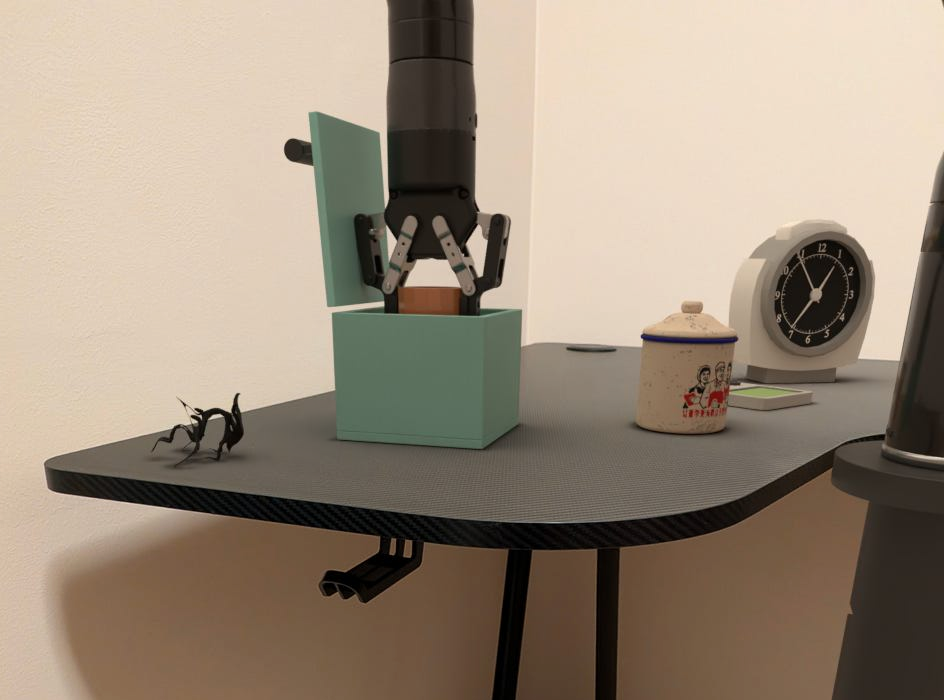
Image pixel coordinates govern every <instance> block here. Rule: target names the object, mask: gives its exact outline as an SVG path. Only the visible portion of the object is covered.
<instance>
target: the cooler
mask: <svg viewBox="0 0 944 700" xmlns="http://www.w3.org/2000/svg"><path fill="white" fill-rule="evenodd" d="M331 327H332V351H333V372H334V393H335V394H334V396H335V417H336V418H335V421H336V422H335V423H336V439H337V440H338V441H339V440H340V441H353V442H369V443H381V444H382V443H384V444H398V445H412V446H427V447H440V448H441V447H442V448H456V449H473V450H484V449H485V448H486V447H487V446H489V445H490V444H492V443H493V442H495V441H496V440H498V439H499V438H500V437H502V436H504V435H505V434H506V433H507V432H509V431H510V430H512V429H514V428H515V427H516V426H518V425H519V422H520V421H519V418H520V417H519V415H520V389H521V359H522V358H521V357H522V330H523V309H522V308H499V307H498V308H497V307H495V308H494V307H493V308H492V307H480V316H452V315H417V314H385V313H384V305H382V306H374V307H367V308H360V309H359V308H358V309H351V310H341V311H333V312H331Z"/></svg>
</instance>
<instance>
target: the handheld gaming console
mask: <svg viewBox="0 0 944 700" xmlns="http://www.w3.org/2000/svg"><path fill="white" fill-rule="evenodd" d="M813 394H814V392H813V390H812V391H811V390H806V389H805V390H804V389H796V388H788V387H781V386H771V385H764V384H757V383H756V384H755V383H748V382H747V383H746V382H740V381H738V380H737V379H731V381H730V389H729V398H728V406H729V407H731V406H732V407H736V408H744V409H750V410H758V411H770V410H771V411H772V410H777V409H783V408H789V407H790V408H791V407H796V406H802V405H809V404H812V400H813Z"/></svg>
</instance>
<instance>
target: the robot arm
mask: <svg viewBox="0 0 944 700" xmlns="http://www.w3.org/2000/svg"><path fill="white" fill-rule="evenodd" d="M385 1H386V2H385V3H386V7H387V36H388V37H387V44H388V46H387V47H388V48H387V50H388V68H387V69H388V70H387V71H388V73H387V74H388V75H387V84H386V94H385V95H386V97H385V98H386V100H385V102H386V103H385V107H386V109H385V111H386V113H385V114H386V154H387V155H386V156H387V157H386V159H387V160H386V161H387V162H386V163H387V190H388V200H387V204H386V205H385V211H384V212H382V213H377V214H371V215H369V214H357V215H356V216H355V218H354V224H355V231H356V237H357V244H358V250H359V257H360V263H361V270H362V276H363V281H364V283H365V284H366V285H367V286H372V287H374V288H376V289H379V290H380V291H381V292H382V293H383V295H384V301H383V306H384V313H385V314H398V287H404V286H406V283H407V281H408V279H409V276H410V274H411V272H412V271H413V270H414V268H415V266H416V263H417V261H419V260H421V261H422V260H423V261H424V260H431V259H433V260H437V261H448V264H449V266H450V268H451V271H452V272H453V273H454V274H455V277H456V279H457V281H458V283H459V287H461V289H462V291H463V297H460V316H480V308H481V301H482V300H481V299H482V296H483V294H484V293H486V292H489V291H490V290H493V289H498V288H500V287H501V285H502V284H503V279H504V272H505V266H506V259H507V253H508V252H507V251H508V246H509V240H510V239H509V238H510V233H511V232H510V231H511V226H512V219H511V217H510V216H509V215H508V214H504V213H500V212H499V213H494V214H493V213H487V212H481V209H480V208H479V206H478V203H477V200H476V177H477V176H476V172H477V171H476V165H477V163H476V161H477V128H478V112H477V91H476V90H477V89H476V83H475V82H476V81H475V67H474V66H475V6H474V5H475V3H474V0H385ZM940 1H941V5H942V7H943V9H944V0H940ZM932 183H933V184H932V188H931V194H930V199H929V204H930V205H929V206H928V209H927V214H926V219H925V225H924V231H923V236H922V241H921V248H920V253H919V257H918V263H917V267H916V273H915V278H914V283H913V288H912V294H911V300H910V305H909V309H908V310H909V311H908V314H907V315H908V316H907V320H906V326H905V330H904V336H903V341H902V347H901V352H900V357H899V363H898V366H897V367H898V368H897V373H896V379H895V383H894V389H893V393H892V394H893V395H892V398H891V405H890V410H889V415H888V416H889V417H888V420H887V424H886V427H885V437H884V441H883V440H882V441H883V444H882V450H881V456H883V457H884V458H886V459H888V460H890V461H893V462H896V463H899V464H903V465H908V466H912V467H918V468H923V469H930V470H937V471H944V150H943V151H942V154H941V156H940V158H939V160H938V164H937V166H936V169H935V174H934V177H933V182H932ZM385 226H386V227H387V229H388V230H389V231H390V233H391V235H392V236H393V237H394V239H395V240H396V243H395V246H394V249H393V251H392V253H391V256H390V258H389V268H388V271H387V273H386V275H385V274H384V267H383V260H382V253H381V246H380V239H381V238H382V237H383V235H384V228H385ZM478 226H480V228H481V236H482V237H483V239H485V240H486V241H487V243H486V244H487V245H486V250H485V257H484V263H483V271H482V275H480V276H479V274H478V271H477V269H476V265H475V260H474V258H473V256H472V253H471V251H470V248H469V245H468V241H469V240H470V239H471V237H472V236H473V234H474V233H475V231H476V229H477V228H478Z"/></svg>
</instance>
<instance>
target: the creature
mask: <svg viewBox="0 0 944 700" xmlns="http://www.w3.org/2000/svg"><path fill="white" fill-rule="evenodd" d="M240 395H242V394H241V393H240V392H236V394H235V395H234V397H233V401H232V405H231V409H230V411H227V410H225V409H223V408H220V407H212V408H209V409H206V410H203V409H202V408H199V407H194V408H191V407H192V406H189V405H188V404H187V403H185V402H184V401H183V400H182V399H180V398H179V397H177V399H178V400H179V402H180V403H181V404H182V405H183V407H184V409H185V411H186V413H187V416H188V418H189V421H190V424H191V428H192V430H190V429H189V428H188V427H187V426H186V425H185V424H181V423H179V424H176V425H174V426H173V427H172V429H171V430H170V433H169V437H167V436H160V437H159V438H158V439H157V440H156V442H155V444H154V446H153V447H152V449H151V451H150V453H153V452H154V450H155V448H156V447H157V445H158V443H159V442H164V443H167V444H171V443H173V441H174V440H175V433H176V431H177V430H178V429H183V430H184V431H185V432H186V434H187V436H188V438H189V440H190V441H189V442H188V443H187V444H186V445H185V446H184V447H183V448H182V449H180V451H181V452H190V453H189V454H188V455H187V456H186V457H185V458H184V459H182V460H181V461H179V462H178V463H176V464H174V465H173V467H176V466H178V465H180V464H182V463H185V462H189V461H198V459H196V458H191V457H192V456H194V455H196V454H199V453H202V452H205V449H204V450H201V451H200V448H201V444H200V442H202V440H203V437H205V435H206V434H205V433H206V428H207V425H208V421H209V419H210V418H211V417H213V416H217V415H220V416H222V417H223V419H224V422H225V423H224V430H223V431H224V432H223V437H222V438H221V440H220V441H219V442H218V448H216V449H214V448H211V450H212V451H213V452H215V453H216V457H212V456H211V457H210V456H209V457H205V458H204V460H206V459H211V460H213V461H215V462H219V461H220V460H221V456H222V453H223V449H224V446H226V447H225V448H226V449H227V451H228V453H230V452H231V449H232V448H233V447H234V446H235V445H237V444H238V443H239V442H241V440H242V439H243V437H244V434H245V432H244V431H245V429H244V425H243V418H242V412H241V409H240V406H239V396H240ZM186 407H188V408H189V409H190V410H191V411H192V412H193V413H194V414H191V415H189V412H188V411H187V408H186ZM200 416H201V417H200ZM191 419H192V420H194V421H196V422H197V424H198V425H196V426H195V425H194V424H193V421H192V420H191ZM191 443H195V446H194V448H193V450H190V449H185V448H186V447H188V446H189V445H190V444H191ZM225 444H226V445H225ZM208 450H209V448H207V449H206V451H208ZM189 458H190V459H189ZM200 460H203V458H202V459H199V461H200Z"/></svg>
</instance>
